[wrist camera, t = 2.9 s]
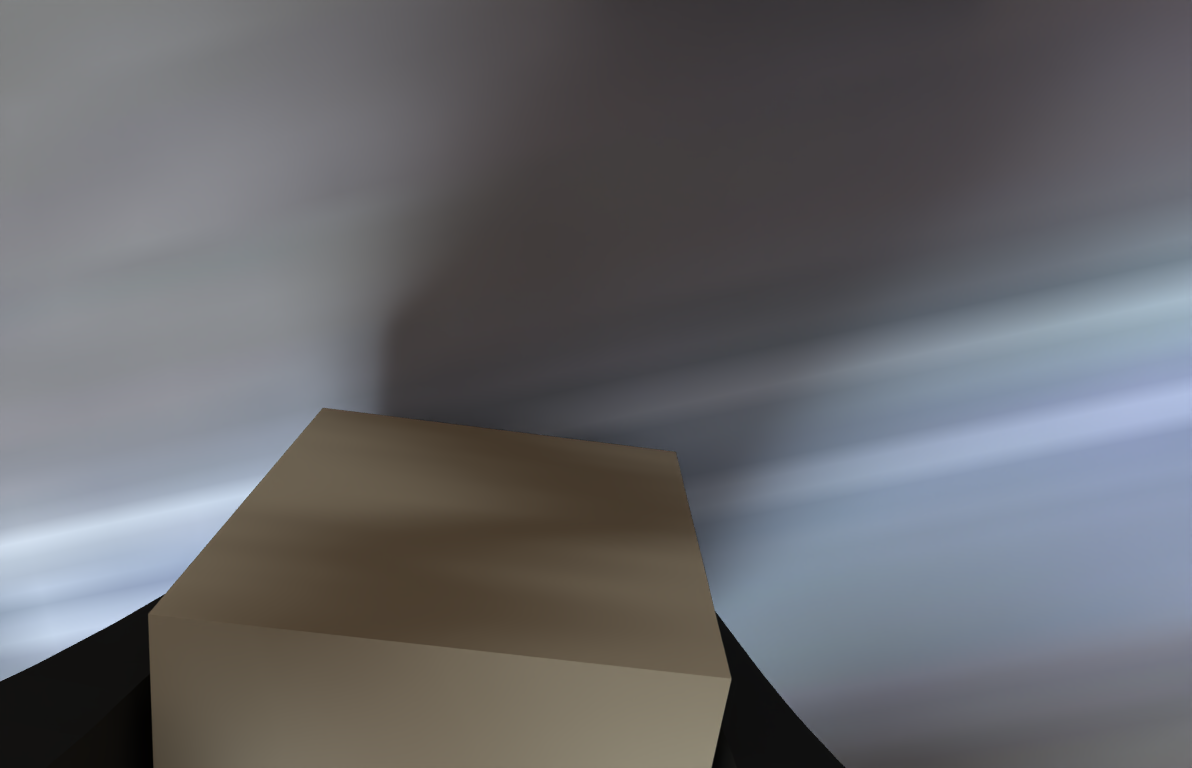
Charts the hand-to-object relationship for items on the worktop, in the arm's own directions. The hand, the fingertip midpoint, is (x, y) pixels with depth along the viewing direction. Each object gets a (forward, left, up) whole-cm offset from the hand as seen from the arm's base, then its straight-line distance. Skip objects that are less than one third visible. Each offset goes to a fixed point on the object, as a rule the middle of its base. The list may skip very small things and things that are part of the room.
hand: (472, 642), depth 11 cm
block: (0, 0, -2) cm, 2 cm away
